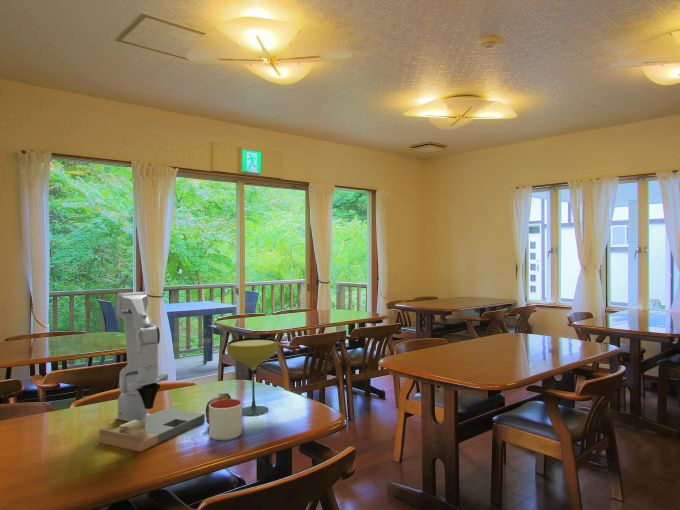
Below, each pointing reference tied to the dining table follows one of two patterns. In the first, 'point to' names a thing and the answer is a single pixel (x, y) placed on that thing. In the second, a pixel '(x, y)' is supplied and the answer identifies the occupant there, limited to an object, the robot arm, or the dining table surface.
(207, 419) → the tin
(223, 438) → the cup
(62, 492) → the dining table surface
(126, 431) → the beech block
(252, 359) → the cocktail glass
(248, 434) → the dining table surface
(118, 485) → the dining table surface
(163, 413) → the board
